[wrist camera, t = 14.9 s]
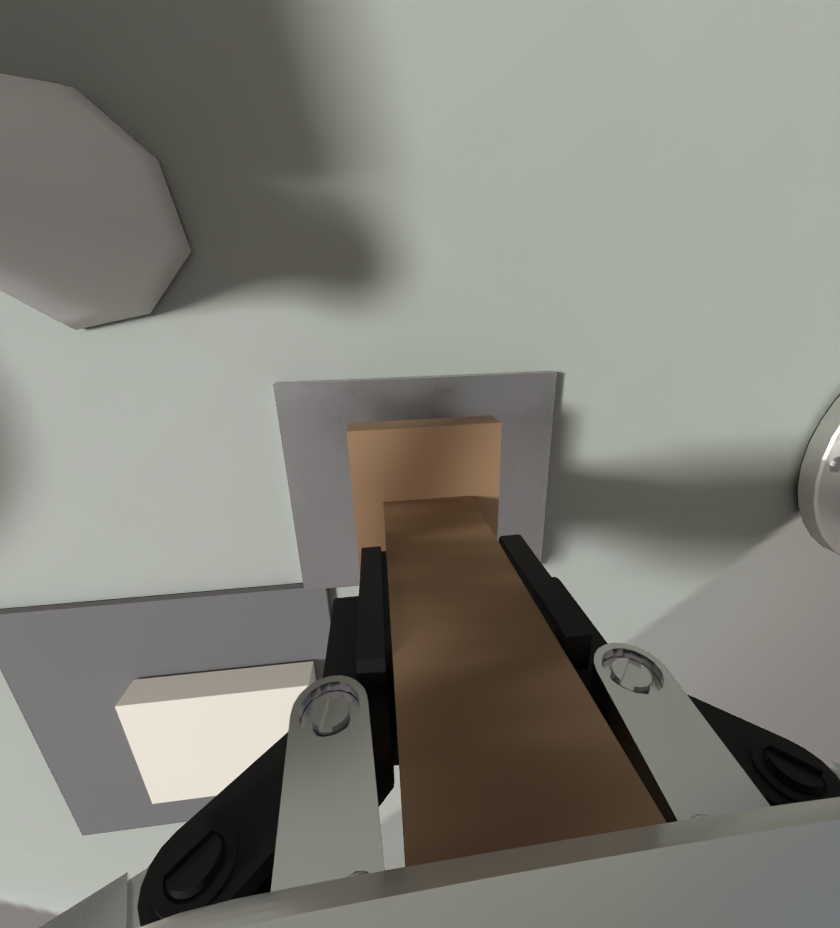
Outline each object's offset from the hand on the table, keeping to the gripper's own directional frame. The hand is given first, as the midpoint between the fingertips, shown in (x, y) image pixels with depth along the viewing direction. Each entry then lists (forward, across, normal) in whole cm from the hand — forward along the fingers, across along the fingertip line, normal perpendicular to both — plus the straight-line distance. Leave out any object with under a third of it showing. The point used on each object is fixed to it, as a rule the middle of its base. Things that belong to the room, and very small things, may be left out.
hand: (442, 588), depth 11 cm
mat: (+8, +13, +13) cm, 20 cm away
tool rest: (+8, 0, 0) cm, 8 cm away
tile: (+7, +15, +13) cm, 21 cm away
